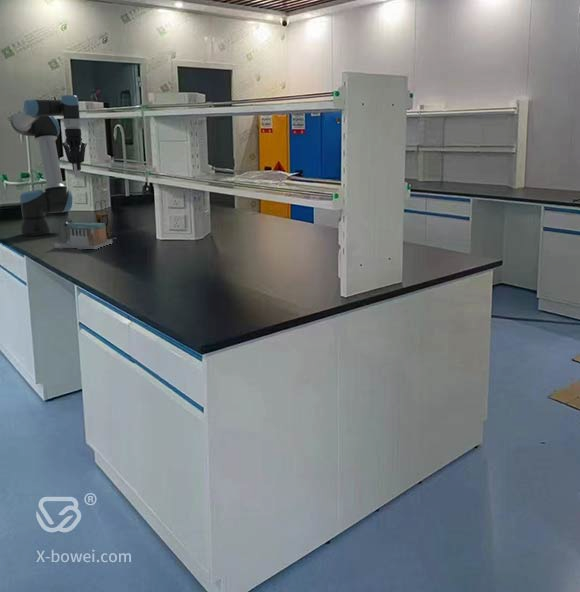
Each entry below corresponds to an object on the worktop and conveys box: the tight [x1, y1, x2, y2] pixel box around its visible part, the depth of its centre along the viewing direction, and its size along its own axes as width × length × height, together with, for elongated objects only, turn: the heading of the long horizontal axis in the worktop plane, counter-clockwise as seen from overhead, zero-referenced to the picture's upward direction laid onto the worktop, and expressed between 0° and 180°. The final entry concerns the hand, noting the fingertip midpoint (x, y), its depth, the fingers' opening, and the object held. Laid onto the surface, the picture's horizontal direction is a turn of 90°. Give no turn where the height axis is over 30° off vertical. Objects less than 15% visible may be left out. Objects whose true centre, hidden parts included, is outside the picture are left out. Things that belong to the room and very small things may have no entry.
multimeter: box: [94, 199, 117, 240], centre depth 323 cm, size 15×10×20 cm
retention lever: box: [64, 221, 105, 228], centre depth 304 cm, size 21×6×2 cm, turn 74°
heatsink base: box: [54, 219, 114, 251], centre depth 305 cm, size 22×16×12 cm
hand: (77, 176), depth 311 cm, fingers closed
